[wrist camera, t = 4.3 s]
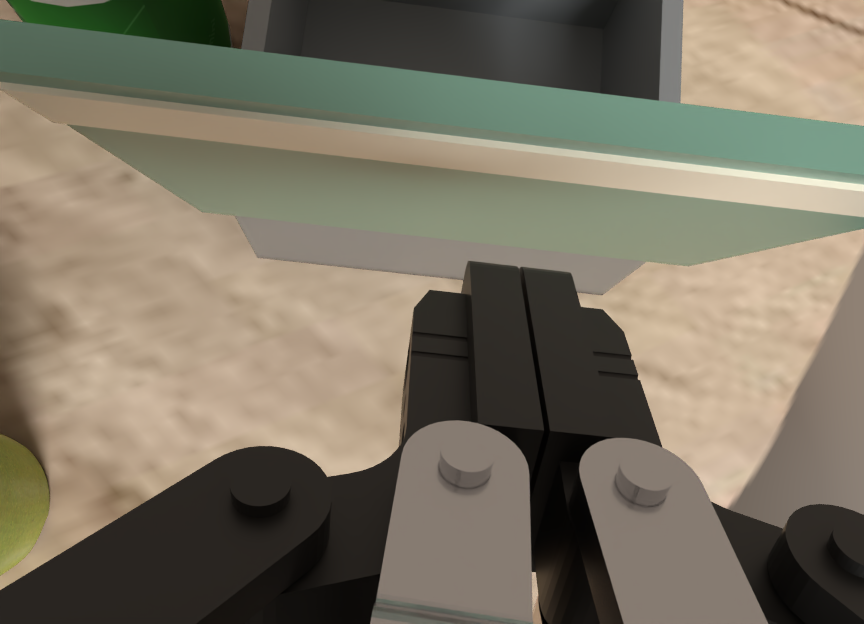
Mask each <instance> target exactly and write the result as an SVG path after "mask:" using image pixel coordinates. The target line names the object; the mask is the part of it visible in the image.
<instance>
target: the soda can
mask: <svg viewBox="0 0 864 624" xmlns="http://www.w3.org/2000/svg"><path fill="white" fill-rule="evenodd" d="M7 2H8V3H9V4H10V6H11V7H12V8H13V9H14V11H15V12H16V13H17V14H18V16H19V17H20V18H21V20H22V21H23V22H26V23H34V24H42V25H50V26H58V27H66V28H74V29H82V30H90V31H99V32H107V33H115V34H123V35H131V36H139V37H147V38H155V39H163V40H171V41H179V42H188V43H196V44H204V45H212V46H220V47H228V48H233V46H232V40H231V33H230V27H229V24H228V21H227V18H226V15H225V11H224V8H223V5H222V2H221V0H7Z"/></svg>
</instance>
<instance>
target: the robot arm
mask: <svg viewBox="0 0 864 624" xmlns="http://www.w3.org/2000/svg"><path fill="white" fill-rule="evenodd" d="M631 356H632V355H631V352H630V349H629V346H628V343H627V340H626V337H625V334H624V332H623V331H622V329H621V328H620V327H619V326H618V325H617V324H616V323H615V322H614V321H613V320H612V319H611V318H610V317H609V316H608V315H607V314H606V313H605V312H604V310H603V309H594V308H585V307H581V306H580V303H579V299H578V295H577V291H576V288H575V284H574V280H573V277H572V274H571V273H570V272H564V271H555V270H547V269H538V268H529V267H520V268H518V267H517V266H511V265H502V264H494V263H485V262H476V261H468V262H467V265H466V269H465V274H464V280H463V285H462V291H461V294H460V293H452V292H443V291H434V290H429V291H428V293H427V294H426V295H425V296H424V297H423V298H422V300H421V301H420V302H419V303H418V304H417V305H416V306H415V308H414V312H413V319H412V327H411V334H410V342H409V349H408V356H407V364H406V371H405V379H404V386H403V397H402V411H401V424H400V439H399V448H398V449H397V450H396V451H395V452H394V453H393V454H392V455H391V456H390V457H389V458H387V459H386V460H385V461H383V462H382V463H380V464H378V465H376V466H374V467H371V468H368V469H366V470H363V471H359V472H354V473H350V474H343V475H337V476H331V477H327V476H326V474H325V473H324V472H323V471H322V469H321V468H320V467H319V466H318V465H317V464H316V463H315V462H313V461H312V460H311V459H309V458H307V457H306V456H304V455H302V454H300V453H297V452H295V451H292V450H289V449H285V448H280V447H272V446H257V447H248V448H244V449H239V450H236V451H233V452H230V453H227V454H225V455H223V456H221V457H219V458H217V459H215V460H214V461H212V462H210V463H209V464H207V465H205V466H204V467H202V468H200V469H199V470H197V471H196V472H194V473H192V474H191V475H189V476H187V477H186V478H184V479H182V480H181V481H179V482H177V483H176V484H174V485H173V486H171V487H169V488H168V489H166V490H164V491H163V492H161V493H159V494H158V495H156V496H154V497H153V498H151V499H150V500H148V501H146V502H145V503H143V504H141V505H140V506H138V507H136V508H135V509H133V510H131V511H130V512H128V513H127V514H125V515H123V516H122V517H120V518H118V519H117V520H115V521H113V522H112V523H110V524H108V525H107V526H105V527H104V528H102V529H100V530H99V531H97V532H95V533H94V534H92V535H90V536H89V537H87V538H85V539H84V540H82V541H81V542H79V543H77V544H76V545H74V546H72V547H71V548H69V549H67V550H66V551H64V552H62V553H61V554H59V555H58V556H56V557H54V558H53V559H51V560H49V561H48V562H46V563H44V564H43V565H41V566H39V567H38V568H36V569H35V570H33V571H31V572H30V573H28V574H26V575H25V576H23V577H21V578H20V579H18V580H16V581H15V582H13V583H12V584H10V585H8V586H7V587H5V588H3V589H2V590H0V624H864V515H862V514H860V513H857V512H855V511H853V510H849V509H846V508H843V507H839V506H833V505H824V504H823V505H822V504H818V505H817V504H816V505H809V506H805V507H802V508H800V509H798V510H796V511H795V512H794V513H793V514H792V515H791V516H790V517H789V519H788V521H787V523H786V525H785V527H784V528H783V529H782V528H779V527H777V526H774V525H771V524H768V523H765V522H762V521H759V520H756V519H753V518H750V517H748V516H745V515H742V514H739V513H736V512H733V511H731V510H728V509H726V508H723V507H721V506H719V505H717V504H715V503H713V502H711V501H710V499H709V497H708V495H707V493H706V490H705V488H704V486H703V484H702V482H701V481H700V479H699V477H698V476H697V475H696V473H695V472H694V471H693V470H692V469H691V468H690V467H689V466H688V465H687V464H686V463H685V462H684V461H683V460H681V459H680V458H679V457H677V456H676V455H675V454H673V453H671V452H670V451H668V450H666V449H664V448H662V445H661V442H660V439H659V436H658V433H657V430H656V427H655V424H654V421H653V418H652V415H651V412H650V409H649V406H648V403H647V400H646V397H645V394H644V391H643V388H642V385H641V382H640V380H638V373H637V370H636V367H635V364H634V361H633V360H631ZM532 572H536V577H537V586H538V596H537V599H536V603H535V606H534V609H533V612H532Z"/></svg>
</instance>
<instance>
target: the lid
mask: <svg viewBox="0 0 864 624" xmlns="http://www.w3.org/2000/svg"><path fill="white" fill-rule="evenodd" d="M0 90H2V91H3V92H5V93H7V94H8V95H10V96H11V97H13V98H15V99H16V100H18V101H19V102H21V103H23V104H24V105H26V106H27V107H29V108H31V109H32V110H34V111H35V112H37V113H39V114H40V115H42V116H43V117H45V118H47V119H48V120H50V121H51V122H53V123H61V124H67V125H68V126H70V127H71V128H73V129H74V130H76V131H77V132H79V133H81V134H82V135H84V136H85V137H87V138H88V139H90V140H91V141H93V142H94V143H96V144H98V145H99V146H101V147H102V148H104V149H105V150H107V151H108V152H110V153H112V154H113V155H115V156H116V157H118V158H119V159H121V160H122V161H124V162H125V163H127V164H129V165H130V166H132V167H133V168H135V169H136V170H138V171H139V172H141V173H142V174H144V175H146V176H147V177H149V178H150V179H152V180H153V181H155V182H156V183H158V184H159V185H161V186H163V187H164V188H166V189H167V190H169V191H170V192H172V193H173V194H175V195H176V196H178V197H180V198H181V199H183V200H184V201H186V202H187V203H189V204H190V205H192V206H194V207H195V208H197V209H198V210H200V211H201V212H206V213H215V214H224V215H233V216H242V217H251V218H260V219H269V220H278V221H287V222H296V223H305V224H314V225H323V226H332V227H341V228H350V229H358V230H367V231H376V232H385V233H394V234H403V235H412V236H421V237H430V238H439V239H448V240H457V241H466V242H475V243H484V244H493V245H502V246H511V247H520V248H529V249H538V250H547V251H556V252H565V253H574V254H582V255H591V256H600V257H609V258H618V259H627V260H636V261H645V262H654V263H663V264H672V265H681V266H692V265H697V264H702V263H706V262H711V261H716V260H720V259H725V258H730V257H734V256H739V255H744V254H748V253H753V252H757V251H762V250H767V249H771V248H776V247H781V246H785V245H790V244H795V243H799V242H804V241H809V240H813V239H818V238H822V237H827V236H832V235H836V234H841V233H846V232H850V231H855V230H860V229H864V126H859V125H851V124H843V123H835V122H827V121H819V120H811V119H803V118H795V117H786V116H778V115H770V114H762V113H754V112H746V111H738V110H730V109H722V108H714V107H706V106H697V105H689V104H681V103H673V102H665V101H657V100H649V99H641V98H633V97H625V96H616V95H608V94H600V93H592V92H584V91H576V90H568V89H560V88H552V87H544V86H536V85H527V84H519V83H511V82H503V81H495V80H487V79H479V78H471V77H463V76H455V75H447V74H438V73H430V72H422V71H414V70H406V69H398V68H390V67H382V66H374V65H366V64H358V63H349V62H341V61H333V60H325V59H317V58H309V57H301V56H293V55H285V54H277V53H268V52H260V51H252V50H244V49H236V48H228V47H220V46H212V45H204V44H196V43H188V42H179V41H171V40H163V39H155V38H147V37H139V36H131V35H123V34H115V33H107V32H99V31H90V30H82V29H74V28H66V27H58V26H50V25H42V24H34V23H26V22H18V21H9V20H1V19H0Z"/></svg>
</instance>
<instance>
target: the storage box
mask: <svg viewBox="0 0 864 624" xmlns="http://www.w3.org/2000/svg"><path fill="white" fill-rule="evenodd" d="M682 28H683V0H249V2H248V9H247V15H246V21H245V28H244V34H243V40H242V47H241V49H244V50H252V51H260V52H268V53H277V54H285V55H293V56H301V57H309V58H317V59H325V60H333V61H341V62H349V63H358V64H366V65H374V66H382V67H390V68H398V69H406V70H414V71H422V72H430V73H438V74H447V75H455V76H463V77H471V78H479V79H487V80H495V81H503V82H511V83H519V84H527V85H536V86H544V87H552V88H560V89H568V90H576V91H584V92H592V93H600V94H608V95H616V96H625V97H633V98H641V99H649V100H657V101H665V102H673V103H680V97H681V63H682ZM235 217H236V219H237V221H238V223H239V224H240V226H241V228H242V230H243V232H244V234H245V235H246V237H247V239H248V241H249V243H250V245H251V246H252V248H253V250H254V252H255V254H256V256H257V257H258V258H266V259H275V260H284V261H293V262H303V263H312V264H321V265H330V266H339V267H349V268H358V269H367V270H376V271H385V272H395V273H404V274H413V275H422V276H431V277H441V278H450V279H459V280H464V274H465V269H466V265H467V262H468V261H476V262H485V263H494V264H502V265H511V266H517V267H518V268H520V267H529V268H538V269H547V270H555V271H564V272H570V273H571V274H572V277H573V280H574V284H575V288H576V291H577V292H578V293H588V294H597V295H603V294H604V293H606V292H607V291H608V290H610V289H611V288H612V287H614V286H615V285H616V284H618V283H619V282H620V281H622V280H623V279H624V278H626V277H627V276H628V275H630V274H631V273H632V272H634V271H635V270H636V269H638V268H639V267H640V266H642V265H643V264H644V263H646V262H645V261H636V260H627V259H618V258H609V257H600V256H591V255H582V254H574V253H565V252H556V251H547V250H538V249H529V248H520V247H511V246H502V245H493V244H484V243H475V242H466V241H457V240H448V239H439V238H430V237H421V236H412V235H403V234H394V233H385V232H376V231H367V230H358V229H350V228H341V227H332V226H323V225H314V224H305V223H296V222H287V221H278V220H269V219H260V218H251V217H242V216H235Z"/></svg>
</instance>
